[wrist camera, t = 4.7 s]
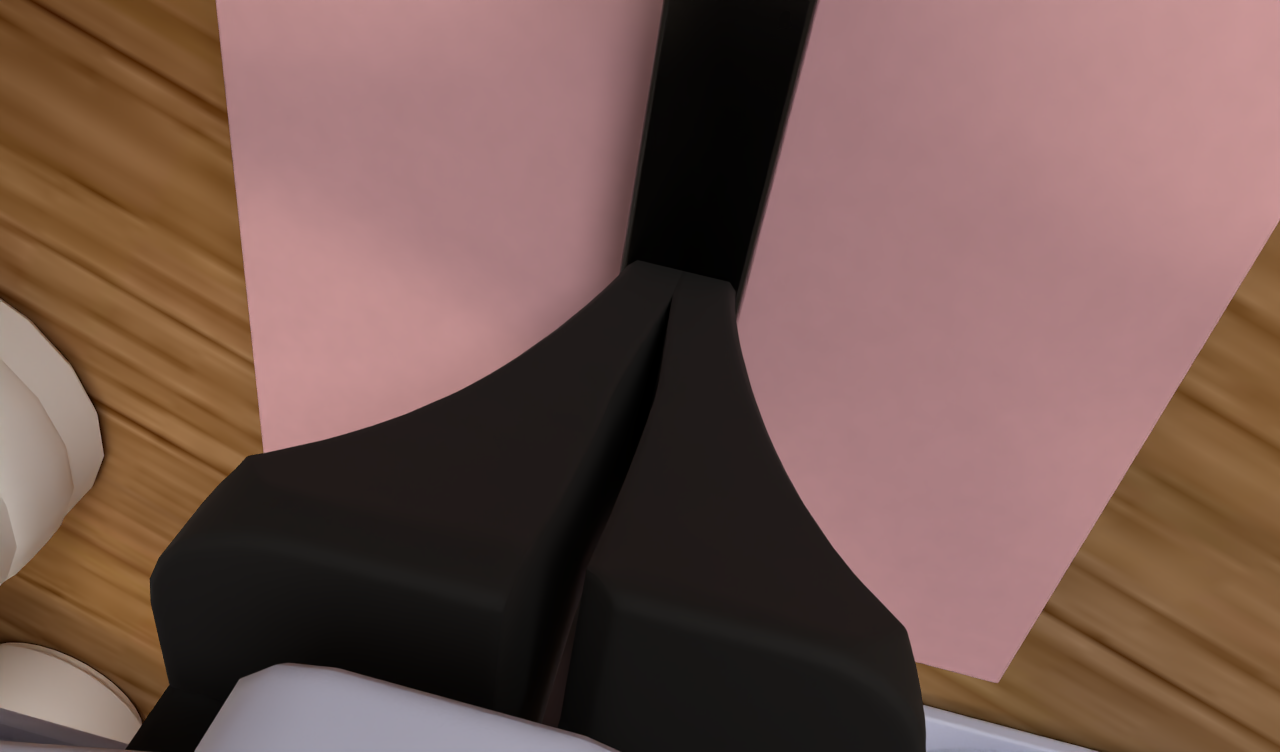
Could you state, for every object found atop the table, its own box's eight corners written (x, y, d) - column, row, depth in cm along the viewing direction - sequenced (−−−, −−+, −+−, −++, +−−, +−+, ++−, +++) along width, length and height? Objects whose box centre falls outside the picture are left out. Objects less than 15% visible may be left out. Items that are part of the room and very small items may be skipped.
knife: (686, 512, 21) (647, 673, 18) (610, 493, 21) (558, 648, 18) (891, -302, 12) (886, -274, 9) (761, -328, 12) (711, -307, 9)
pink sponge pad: (987, 560, 20) (998, 684, 18) (336, 394, 21) (266, 491, 19) (1370, -158, 12) (1479, -106, 10) (304, -369, 13) (174, -367, 11)
